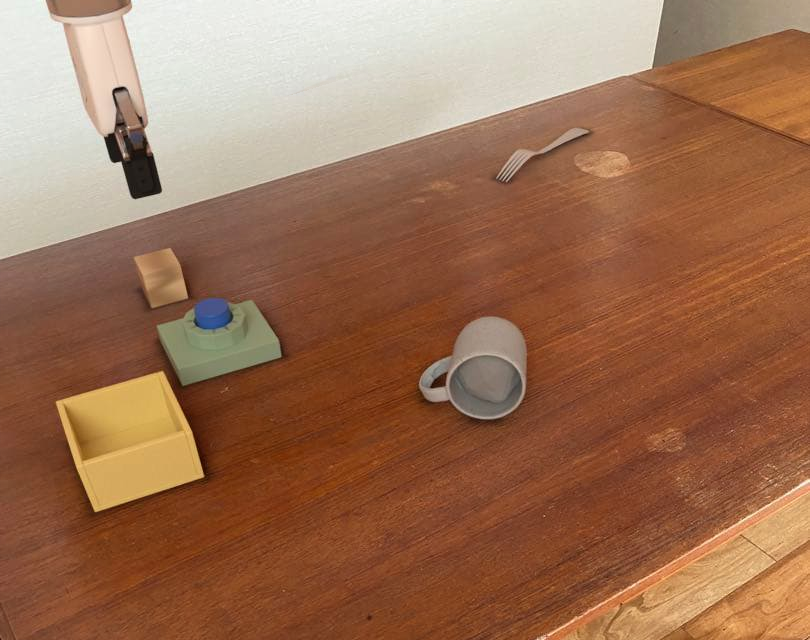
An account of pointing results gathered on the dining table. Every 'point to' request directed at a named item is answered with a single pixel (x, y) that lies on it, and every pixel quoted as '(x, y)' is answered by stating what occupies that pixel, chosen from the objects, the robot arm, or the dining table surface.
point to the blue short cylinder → (212, 313)
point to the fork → (564, 138)
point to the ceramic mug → (482, 370)
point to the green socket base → (218, 344)
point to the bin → (129, 440)
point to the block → (161, 277)
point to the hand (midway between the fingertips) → (135, 176)
